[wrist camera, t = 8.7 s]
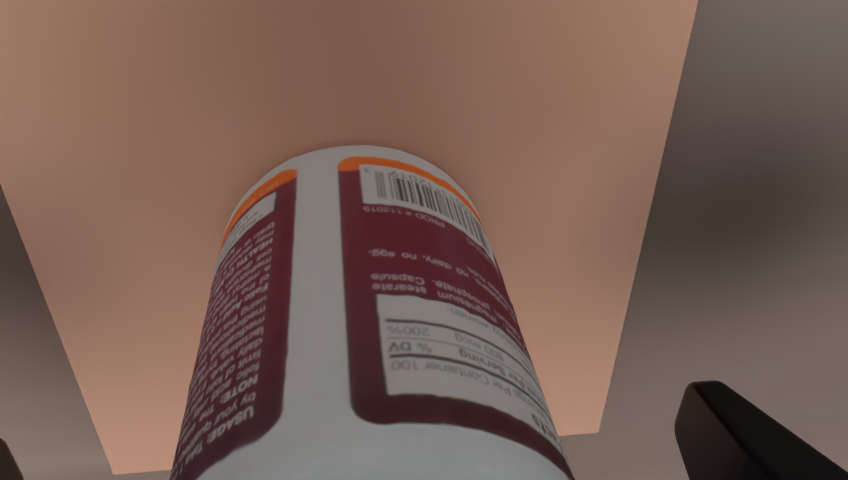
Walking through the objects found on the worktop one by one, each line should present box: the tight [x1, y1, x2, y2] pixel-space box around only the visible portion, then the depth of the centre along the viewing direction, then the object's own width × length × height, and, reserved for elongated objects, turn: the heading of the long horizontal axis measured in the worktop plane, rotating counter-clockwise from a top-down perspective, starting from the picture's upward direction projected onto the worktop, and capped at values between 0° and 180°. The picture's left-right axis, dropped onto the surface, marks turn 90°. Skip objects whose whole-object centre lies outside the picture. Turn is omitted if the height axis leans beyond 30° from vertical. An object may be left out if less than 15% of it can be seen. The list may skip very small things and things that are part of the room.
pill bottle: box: [169, 145, 575, 480], centre depth 9 cm, size 5×5×8 cm
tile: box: [0, 0, 699, 475], centre depth 12 cm, size 11×11×1 cm
